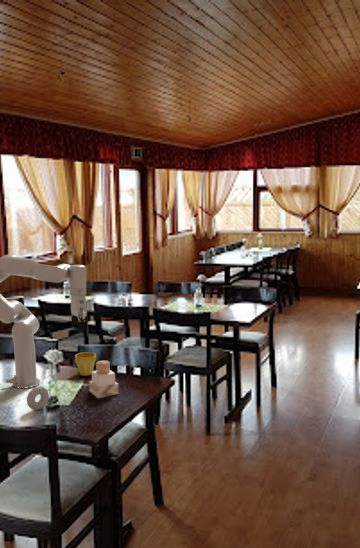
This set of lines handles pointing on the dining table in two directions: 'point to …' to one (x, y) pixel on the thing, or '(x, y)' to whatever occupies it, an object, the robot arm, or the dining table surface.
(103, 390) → the tower base block
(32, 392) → the donut
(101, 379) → the tower top block
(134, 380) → the dining table surface
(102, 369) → the terracotta cylinder
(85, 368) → the plant pot
